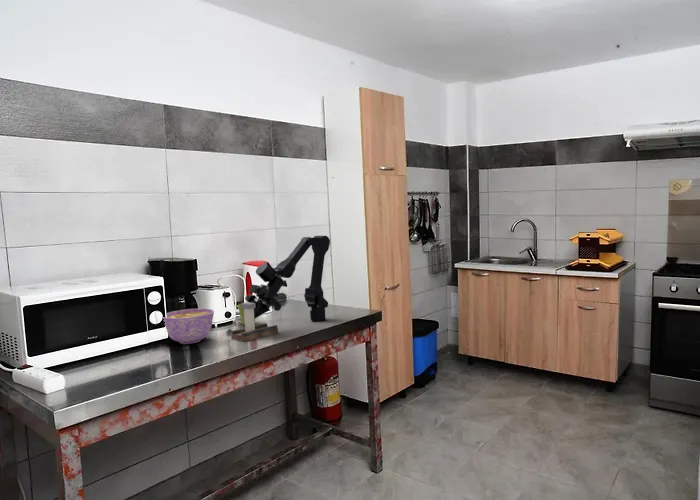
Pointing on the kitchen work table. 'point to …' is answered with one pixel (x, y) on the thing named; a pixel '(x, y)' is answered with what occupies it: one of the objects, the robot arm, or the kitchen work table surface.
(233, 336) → the rail
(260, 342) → the kitchen work table surface
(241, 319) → the plant pot
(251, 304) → the fader tab
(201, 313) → the bowl of food
